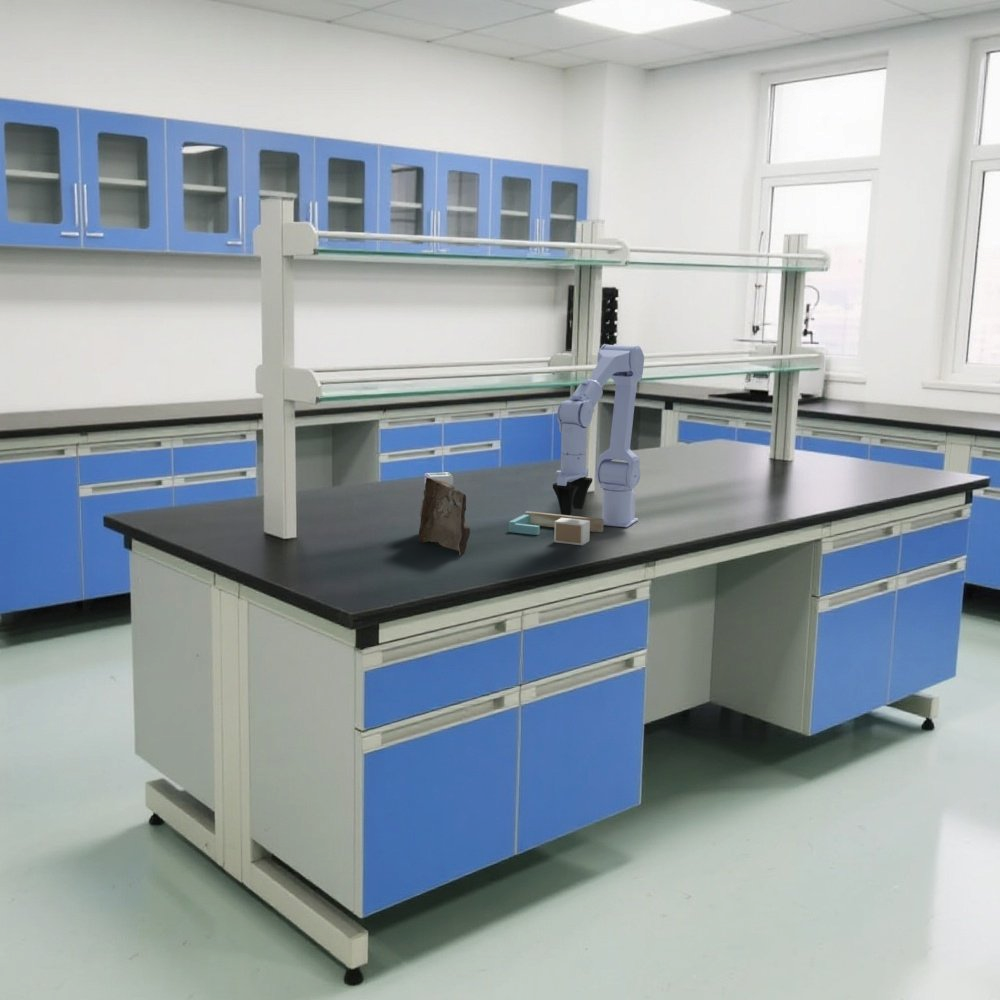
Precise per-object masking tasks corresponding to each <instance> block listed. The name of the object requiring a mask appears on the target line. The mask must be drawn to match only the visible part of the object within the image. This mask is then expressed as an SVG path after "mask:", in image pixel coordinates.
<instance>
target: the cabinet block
mask: <svg viewBox="0 0 1000 1000" xmlns="http://www.w3.org/2000/svg"><path fill="white" fill-rule="evenodd" d="M553 528H554V529H553V530H554V531H553V532H554V535H553V537H554V538H553V543H559V544H568V545H569V544H570V545H576V546H577V545H578V546H584V545H585V544H587V543H589V542H590V535H591V533H590V532H591V531H590V521H589V520H579V519H570V518H560V519H558V520H556V521H555V524H554V527H553Z"/></svg>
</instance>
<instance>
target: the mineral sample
mask: <svg viewBox="0 0 1000 1000" xmlns="http://www.w3.org/2000/svg"><path fill="white" fill-rule="evenodd" d="M455 488H456V487H454V485H453V486H452V485H450V484H449V483H447V482H445V481H441V480H434V479H430V478H427V479H426V483H425V482H424V489H423V499H422V501H421V507H420V512H419V514H420V523H419V531H418V537H419V543H420V542H421V543H428V541H430V542H431V543H437V542H438V543H439V544H438V543H437V544H438V545H440V546H441V545H442V546H441V547H444V548H447V549H451V550H455V551H458V556H461V555H464V554H465V552H466V550H467V544H468V541H469V538H470V533H471V528H470V527H469V526H468V525H467V524H466V517H465V515H466V510H467V495H466V494H465V493H464V492H461V491H460V490H457V489H455ZM430 542H429V543H430Z"/></svg>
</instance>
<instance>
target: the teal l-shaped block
mask: <svg viewBox="0 0 1000 1000" xmlns="http://www.w3.org/2000/svg"><path fill="white" fill-rule="evenodd" d="M540 529H541V526H538V525H530V515H528V514H525V513H524V514H522V515H520V516H518V517H515V518H513V519H512V520H509V522H508V532H509V533H517V534H525V535H532V536H534V535H535V536H538V535H540V534H541V533H540V532H541V531H540Z"/></svg>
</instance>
